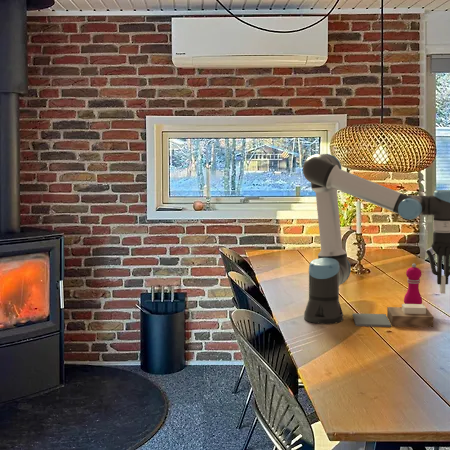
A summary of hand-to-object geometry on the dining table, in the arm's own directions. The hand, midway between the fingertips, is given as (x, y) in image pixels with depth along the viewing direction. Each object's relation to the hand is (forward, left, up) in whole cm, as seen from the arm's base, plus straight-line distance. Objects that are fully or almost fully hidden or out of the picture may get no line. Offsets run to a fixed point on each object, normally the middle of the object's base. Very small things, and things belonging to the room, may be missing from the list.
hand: (442, 292), depth 228 cm
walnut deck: (-6, -10, -12) cm, 17 cm away
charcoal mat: (-14, -22, -12) cm, 29 cm away
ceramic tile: (-6, -9, -8) cm, 13 cm away
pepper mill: (-18, +2, -12) cm, 21 cm away
